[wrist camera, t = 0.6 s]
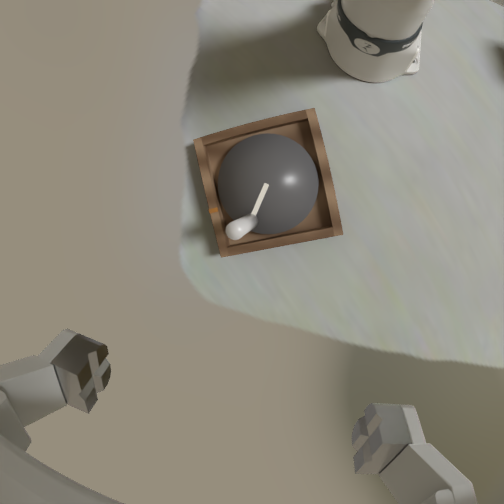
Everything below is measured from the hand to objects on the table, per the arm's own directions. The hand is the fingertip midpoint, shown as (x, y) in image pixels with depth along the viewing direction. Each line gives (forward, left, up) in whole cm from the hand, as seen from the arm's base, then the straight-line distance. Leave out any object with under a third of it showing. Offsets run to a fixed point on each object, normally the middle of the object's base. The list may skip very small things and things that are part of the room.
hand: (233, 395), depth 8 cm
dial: (-3, -7, -42) cm, 43 cm away
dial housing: (-3, -7, -44) cm, 45 cm away
